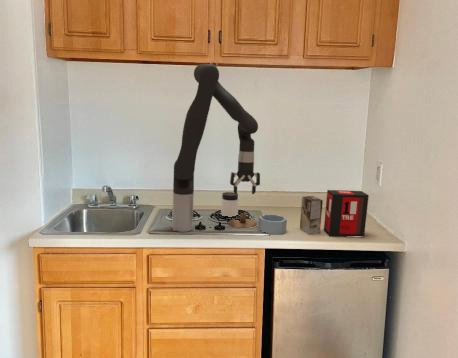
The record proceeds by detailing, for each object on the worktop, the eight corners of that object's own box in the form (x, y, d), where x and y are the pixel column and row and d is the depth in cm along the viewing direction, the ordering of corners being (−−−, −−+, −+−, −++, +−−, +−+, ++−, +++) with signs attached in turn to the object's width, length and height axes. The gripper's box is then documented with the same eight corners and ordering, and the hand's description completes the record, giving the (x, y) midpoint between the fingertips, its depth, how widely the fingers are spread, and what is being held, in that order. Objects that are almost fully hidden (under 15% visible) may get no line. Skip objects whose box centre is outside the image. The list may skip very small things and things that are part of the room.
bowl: (263, 234, 195) (264, 221, 194) (256, 226, 207) (257, 214, 205) (288, 234, 197) (289, 221, 196) (280, 226, 209) (281, 214, 208)
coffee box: (320, 233, 201) (323, 200, 198) (308, 234, 198) (311, 200, 195) (310, 227, 209) (313, 195, 206) (298, 228, 207) (301, 196, 204)
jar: (219, 214, 225) (220, 192, 222) (233, 213, 227) (235, 191, 225) (224, 219, 216) (225, 196, 214) (239, 218, 219) (240, 195, 217)
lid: (231, 229, 201) (232, 218, 200) (225, 221, 215) (226, 210, 213) (260, 229, 204) (260, 217, 203) (252, 220, 217) (253, 209, 216)
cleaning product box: (357, 231, 207) (361, 191, 203) (364, 237, 198) (368, 195, 194) (323, 230, 206) (327, 189, 202) (329, 236, 197) (333, 194, 193)
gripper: (233, 161, 198) (231, 195, 201) (262, 162, 201) (260, 195, 204) (229, 159, 205) (228, 192, 208) (258, 159, 208) (256, 192, 211)
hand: (244, 193), depth 206 cm, fingers open, 8 cm apart
